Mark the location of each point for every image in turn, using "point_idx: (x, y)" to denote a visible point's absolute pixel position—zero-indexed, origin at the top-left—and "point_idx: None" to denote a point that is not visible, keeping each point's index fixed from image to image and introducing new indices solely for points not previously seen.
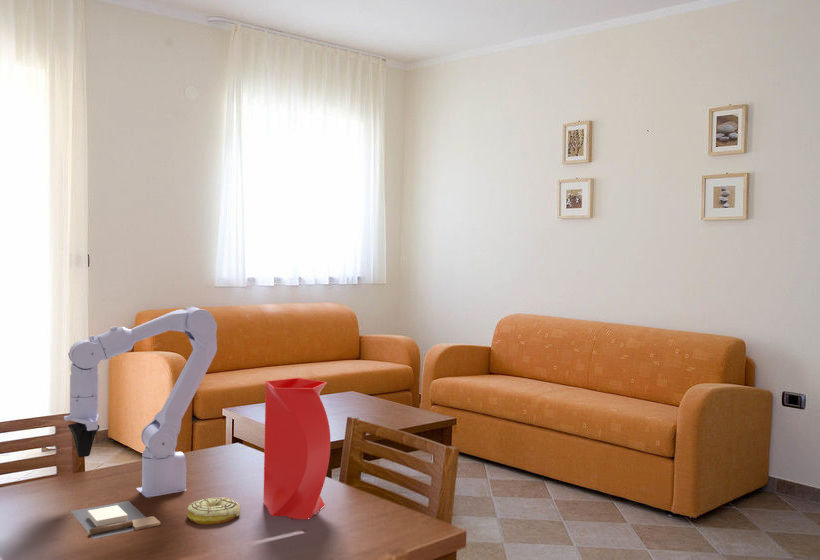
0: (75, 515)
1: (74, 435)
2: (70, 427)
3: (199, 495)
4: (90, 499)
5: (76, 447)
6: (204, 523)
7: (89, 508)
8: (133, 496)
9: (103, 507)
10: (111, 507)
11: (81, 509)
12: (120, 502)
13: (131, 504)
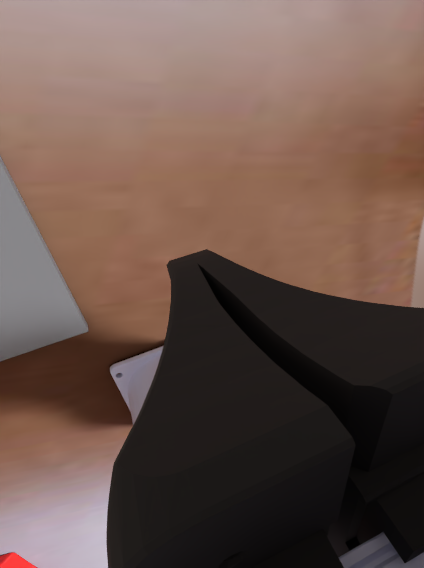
0: None
1: (243, 345)
2: (362, 390)
3: (114, 452)
4: (169, 214)
5: (216, 274)
6: None
7: (22, 220)
8: (155, 329)
9: (26, 267)
10: None
11: (10, 189)
12: (76, 312)
13: (46, 343)
